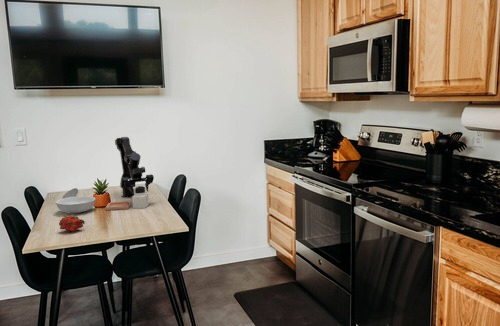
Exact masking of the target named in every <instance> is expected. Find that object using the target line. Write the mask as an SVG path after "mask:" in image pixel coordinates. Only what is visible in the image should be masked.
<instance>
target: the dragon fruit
mask: <svg viewBox="0 0 500 326" xmlns="http://www.w3.org/2000/svg"><path fill="white" fill-rule="evenodd" d="M85 223H86V222H85V220H84V219H82V218H79V217H78V216H75V215H65V216H64V217H62V218H61V219H60V220H59V223H58V226H59V229H60V230H61V231H62V230H65V231H66V232H67V233H70V232H76V233H77V232H79V231H80V229H82V228H84V224H85Z"/></svg>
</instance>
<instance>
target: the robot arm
mask: <svg viewBox="0 0 500 326" xmlns="http://www.w3.org/2000/svg"><path fill="white" fill-rule="evenodd" d="M130 140H131V139H130V137H128V136H121V137H117V138H116V139H114V144H115V146H116V149H117V150H118V151H119V155H120V159H121V167H122V175H121V177H120V182H119V183H120V184H119V185H120V188H121V189H122V196H121V198H132V196H134V195H135V192H134V188H135V187H136V183H139V182H145V184H144V185H145V186H144V187H145V191H146V192H149V185H151V184H153V182H154V178H155V177H154V175H153V174H146V175H145V177H143V173H146V167H145V166H141V167H139V165H140V161H141V155H140V154H139V153H137V152H136V151H134V150H133V149H132V145H131V141H130Z"/></svg>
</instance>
